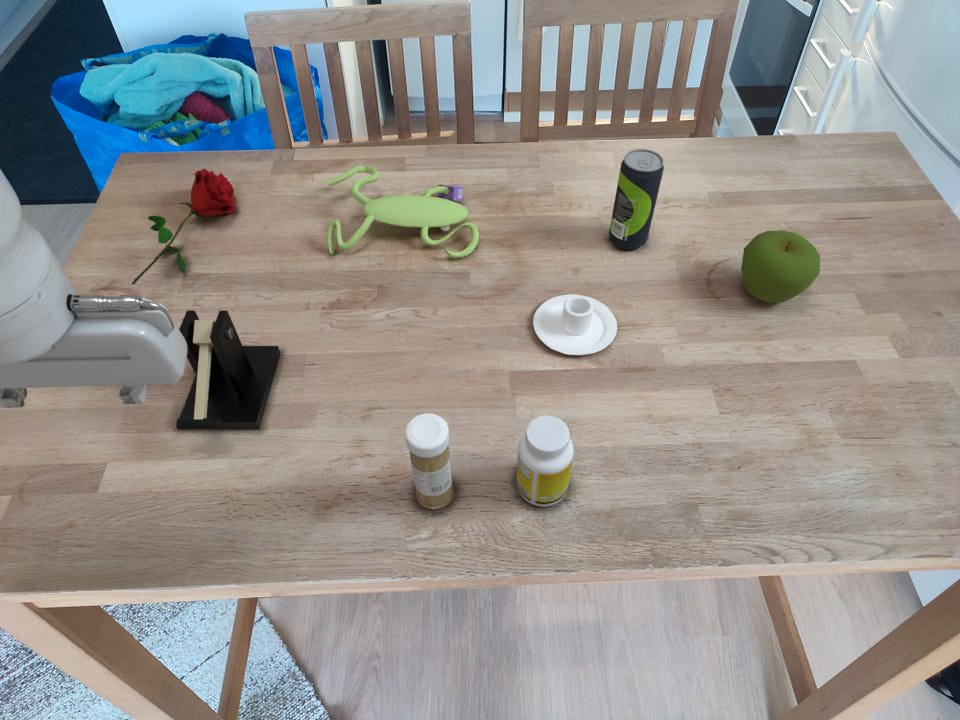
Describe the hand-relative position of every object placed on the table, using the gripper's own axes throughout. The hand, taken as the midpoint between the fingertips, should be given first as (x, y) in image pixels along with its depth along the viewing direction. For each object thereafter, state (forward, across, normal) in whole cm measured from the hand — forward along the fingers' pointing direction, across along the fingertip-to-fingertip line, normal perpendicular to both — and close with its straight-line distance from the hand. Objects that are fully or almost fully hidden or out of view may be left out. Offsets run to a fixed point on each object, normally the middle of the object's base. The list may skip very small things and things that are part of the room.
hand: (77, 398), depth 56 cm
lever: (+20, -5, -14) cm, 25 cm away
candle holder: (+23, -54, -23) cm, 63 cm away
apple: (+20, -84, -26) cm, 90 cm away
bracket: (+28, -6, -16) cm, 33 cm away
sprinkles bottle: (+22, -32, +2) cm, 39 cm away
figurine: (+30, -30, -49) cm, 65 cm away
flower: (+34, +4, -48) cm, 58 cm away
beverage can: (+24, -66, -41) cm, 81 cm away
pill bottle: (+20, -44, +2) cm, 49 cm away
